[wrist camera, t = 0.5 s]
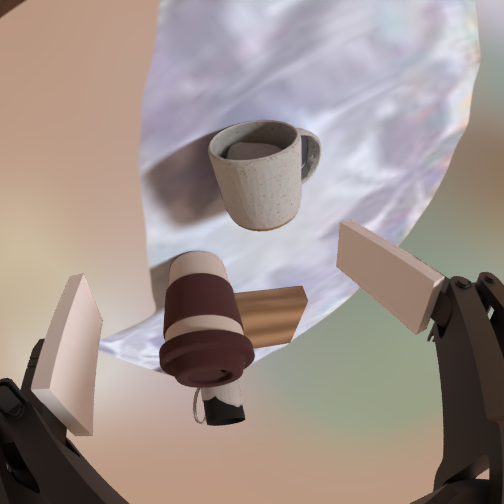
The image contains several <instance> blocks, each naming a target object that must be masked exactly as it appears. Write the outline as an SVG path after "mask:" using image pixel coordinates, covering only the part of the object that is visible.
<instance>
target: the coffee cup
mask: <svg viewBox="0 0 504 504" xmlns="http://www.w3.org/2000/svg"><path fill="white" fill-rule="evenodd" d="M243 331H244V328H243V323H242V320H241V316H240V313H239V310H238V306H237V303H236V299H235V296H234V292H233V289H232V286H231V285H230V283H229V281H228V277H227V274H226V270H225V266H224V264H223V262H222V261H221V260H220V259H219V258H218V257H217V256H216V255H214V254H212V253H209V252H204V251H193V252H188V253H185V254H183V255H181V256H179V257H178V258H177V259H176V260H174V262H173V263H172V265H171V267H170V271H169V283H168V289H167V292H166V299H165V313H164V330H163V334H164V339H165V343H164V344H163V345H162V346H161V348H160V351H159V359H160V366H161V368H162V369H163V371H165V372H166V373H168V374H170V375H172V376H175V378H176V380H177V381H178V382H179V383H180V384H182V385H185V386H189V387H197V388H210V387H217V386H222V385H226V384H229V383H231V382H234V381H236V380H237V379H239V378H240V377H241V375H242V373H243V369H245V368H247V367H248V366H249V365H250V364H251V363H252V362H253V360H254V357H255V354H254V350H253V345H252V342H251V341H250V339H248V338H247V337H246V336H244V334H243Z"/></svg>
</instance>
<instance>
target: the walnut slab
mask: <svg viewBox="0 0 504 504" xmlns="http://www.w3.org/2000/svg"><path fill="white" fill-rule="evenodd" d="M234 296H235V299H236V303H237V306H238V310H239V313H240V316H241V320H242V323H243V328H244V331H243V334H244V336H246V337H247V338H248V339H250V341H251V342H252V345H253V349H254V348H261V347H267V346H274V345H280V344H286V343H290V342H291V340H292V337H293V335H294V333H295V331H296V328H297V326H298V324H299V321H300V319H301V317H302V314H303V312H304V310H305V307H306V305H307V302H308V299H307V297H306V294H305V291H304V289H303V286H295V287H287V288H279V289H270V290H261V291H252V292H243V293H234Z"/></svg>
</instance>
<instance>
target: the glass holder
mask: <svg viewBox="0 0 504 504" xmlns="http://www.w3.org/2000/svg"><path fill="white" fill-rule="evenodd" d="M199 390H200V388H197V390H196V392H195V396H194V403H193V411H194V418H195V420H196V422H197V423H200V424H203V423H205V422H206V421H207V425H213V426H219V425H229V424H234V423H238V422H242V421H244V420H245V415H244V410H243V406H242V405H243V401H242V396H241V391H240V387H239V381H238V379H237V380H236V381H234V382H231V383H229V384H226V385H222V386H217V387H210V388H201V394H202V400H203V402H204V409H205V418H204V420H203V421H202V422H200V421H199V420H198V418H197V412H196V403H197V397H198V393H199Z"/></svg>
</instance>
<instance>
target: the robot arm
mask: <svg viewBox="0 0 504 504" xmlns="http://www.w3.org/2000/svg"><path fill="white" fill-rule="evenodd" d="M336 267H338V268H339V269H340V270H341V271H342V272H344V273H345V274H346V275H347V276H348V277H350V278H351V279H352V280H353V281H354V282H356V283H357V284H358V285H359V286H360V287H361V288H363V289H364V290H365V291H366V292H367V293H369V294H370V295H371V296H372V297H373V298H374V299H376V300H377V301H378V302H379V303H380V304H381V305H382V306H384V307H385V308H386V309H387V310H388V311H389V312H390V313H392V314H393V315H394V316H395V317H396V318H397V319H398V320H400V321H401V322H402V323H403V324H404V325H405V326H406V327H407V328H408V329H410V330H411V331H412V332H413V333H414V334H415V335H417V334H419V333H420V332H422V331H424V330H425V329H426V328H427V326H428V323H429V321H430V318H432V319H433V320H434V321H435V322H434V324H433V327H432V329H431V331H430V334H429V336H428V340H427V341H430V339H431V337H432V336H433V335H434V339H433V342H435V344H436V350H437V357H438V364H439V372H440V379H441V390H442V402H443V424H444V425H443V426H444V450H443V459H442V462H441V464H440V466H439V468H438V470H437V473H436V475H435V480H434V490H433V492H432V493H430V494H428V495H426V496H424V497H422V498H420V499H418V500H416V501H414V502H412V503H410V504H504V285H503V284H502V282H501V281H500V280H499V279H498V278H497V277H495V276H494V275H493V274H491V273H489V272H482V273H480V274H479V277H478V280H477V282H475V283H471V281H469V280H468V279H466V278H463V277H460V276H454V277H452V278H451V279H448V278H447V277H446V276H444V275H443V274H441V273H439V272H438V271H436V270H435V269H433V268H432V267H430V266H428V265H427V264H426V263H424V262H422V261H421V260H419V259H418V258H416V257H414V256H412V255H410V254H409V253H407V252H405V251H404V250H402V249H401V248H399V247H397V246H396V245H394V244H392V243H391V242H389V241H387V240H385V239H384V238H382V237H380V236H379V235H377V234H375V233H373V232H372V231H370V230H368V229H366V228H365V227H363V226H361V225H359V224H357V223H356V222H354V221H352V220H348V221H342V222H340V230H339V242H338V254H337V264H336ZM491 306H492V308H493V309H494V312H493V315H492V317H491V319H490V320H489V318H488V313H489V311H490V308H491ZM102 321H103V320H102V318H101V316H100V313H99V311H98V308H97V306H96V304H95V301H94V299H93V296H92V294H91V291H90V289H89V286H88V284H87V281H86V278H85V276H84V273H83V274H79V275H74V276H70V278H69V280H68V282H67V284H66V286H65V289H64V291H63V294H62V296H61V298H60V301H59V303H58V305H57V308H56V311H55V313H54V316H53V318H52V321H51V324H50V326H49V329H48V332H47V335H46V338H45V339H40V340H39V341H38V343H37V344H36V345H35V347H34V348H33V350H32V353H31V356H30V360H29V363H28V365H27V367H28V368H27V369H26V372H25V376H24V379H23V383H22V386H21V390H20V389H19V388H18V387H17V386H16V384H15V383H14V382H13V381H12V379H9V378H4V379H1V380H0V504H129V503H128V502H127V501H126V500H125V499H124V498H122V497H121V496H120V495H119V494H118V493H117V492H116V491H115V490H114V489H113V488H112V487H111V486H110V485H109V484H108V483H107V482H106V481H105V480H104V479H103V478H102V477H101V476H100V475H99V474H98V473H97V472H96V470H95V469H94V468H93V467H92V466H91V465H90V464H89V463H88V462H87V460H86V459H85V458H84V457H83V456H82V454H81V453H80V452H79V451H78V450H77V448H76V447H75V446H74V445H73V443H72V442H71V441H70V440H69V439H68V438H67V437H66V432H67V429H68V430H69V431H70V432H71V433H73V434H74V435H75V436H93V406H94V405H93V404H94V388H95V376H96V366H97V357H98V348H99V341H100V334H101V327H102ZM7 467H8V468H7ZM488 468H489V480H487V479H475V478H476V477H477V476H478V475H479V474H481V473H482V472H484V471H485V470H487V469H488Z"/></svg>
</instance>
